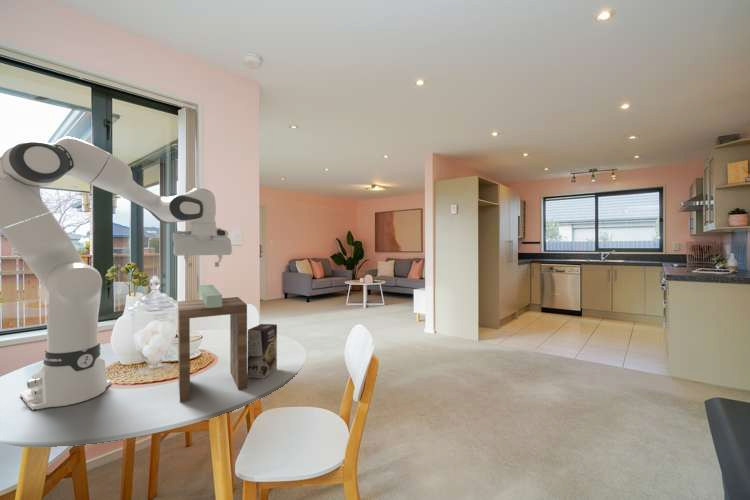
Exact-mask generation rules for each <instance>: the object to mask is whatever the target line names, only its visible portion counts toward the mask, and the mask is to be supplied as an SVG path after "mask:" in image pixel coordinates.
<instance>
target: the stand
mask: <svg viewBox="0 0 750 500" xmlns="http://www.w3.org/2000/svg"><path fill="white" fill-rule="evenodd" d="M177 315H178V316H177V323H178V324H177V325H178V326H177V329H178V333H177V335H178V336H177V337H178V338H177V340H178V342H177V343H178V348H177V349H178V350H177V352H178V354H177V356H178V358H177V359H178V361H177V362H178V363H177V364H178V391H179V392H178V393H179V403H183V402H188V401H191V364H190V363H191V357H190V356H191V352H190V351H191V350H190V347H191V346H190V345H191V344H190V342H191V339H190V337H191V336H190V335H191V334H190V333H191V331H190V330H191V329H190V322H191V321H190V319H195V318H196V319H199V318H205V317H216V316H218V317H219V316H225V315H226V316H230V317H229V321H230V322H229V325H230V327H229V331H230V332H229V333H230V334H229V335H230V337H229V338H230V339H229V340H230V341H229V342H230V344H229V345H230V347H229V348H230V351H229V353H230V354H229V355H230V375H231V377H232V379H233V381H234V384H235V386H236V388H237V391H241V390H246V389H248V377H247V371H248V304H247V303H245V301H244V300H242V299H241V298H240V297H238V296H235V297H234V296H233V297H222V307H214V308H207V307H206V305H205V303H204V301H203V300H202V299H193V300H191V299H190V300H182V301H181V300H180V301H179V300H178V301H177Z"/></svg>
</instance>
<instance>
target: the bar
mask: <svg viewBox="0 0 750 500" xmlns="http://www.w3.org/2000/svg"><path fill="white" fill-rule="evenodd" d="M199 287H200V288H199V296H200V298H201V300H203V301H204V303H205V305H206V307H207V308H214V307H222V298H223V294H222V293H221V292H220V291H219V289H217V288H216V286H214V285H213V284H208V285H207V284H206V285H205V284H204V285H203V284H202V285H200V286H199Z"/></svg>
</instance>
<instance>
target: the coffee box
mask: <svg viewBox="0 0 750 500" xmlns="http://www.w3.org/2000/svg"><path fill="white" fill-rule="evenodd" d="M277 338H278V324H275V323H274V324H273V323H271V324H270V323H260V324H258V325H256V326H253V327H251V328H249V329H247V378H251V379H253V378H254V379H255V378H256V379H260V380H261V379H266V378H267V377H268V376H269V375H271V374H272V373H273V372H274V371H276V370H277V369H278V358H277V357H278V353H277V352H278V349H277V348H278V343H277V342H278V339H277Z"/></svg>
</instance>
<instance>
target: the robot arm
mask: <svg viewBox="0 0 750 500" xmlns="http://www.w3.org/2000/svg"><path fill="white" fill-rule="evenodd" d="M65 175H66V176H71V177H74V178H77V179H79V180H81V181H84V182H85V183H88V184H89V185H91V186H94V187H96V188H98V189H101V190H104V191H106V192H109V193H112V194H115V195H117V196H120V197H122V198H124V199H125V200H127V201H130V202H132V203H134V204H136V205H138V206H139V207H141V208H143V209H145V210H146V211H148V212H149V213H150V214H151V215H152V216H153V217H154V218H155V219H156V220H157V221H159V222H160V223H163V224H173V223H181V222H188V221H189V222H190V230H187V231H186V230H184V231H183V230H177V231H175V232H174V233H173V234H172V236H171V240H172V242H173V243H174V244H173V250H172V253H173V255H174V256H177V257H178V256H179V257H180V256H182V257H184V260H185V262H186V264H187V268H188V269H189V268H190V269H191V268H193V263H192V262H190V261H189V257H190V256H217V261H215V262H214V268H216V267H217V268H218V267H220V262H221V261H222V259H223V256H230V255H231V254H232V253H233V246H232V241H231V238H230V237H228V236H229V231H228V230H225V229H222V228H221V227H220V228H219V227H217V221H216V214H217V203H216V197H215V195H214V193H213V192H212V191H211V190H209V189H206V188H201V187H195V188H192V189H191V190H190V191H187V192H185V193H180V194H177V195H172V196H163V195H158V194H156V193H154V192H152V191H150V190H149V189H147V188H145V187H144V186H141V185H140V184H138V183H137V182H136V181H135V180H134V178H133V171H132V169H131V167H130V166H129V165H128V164H127V163H126V162H124V161H123V160H121V159H120V158H119V157H117V156H115V155H114V154H112V153H110V152H108V151H106V150H104V149H102V148H100V147H98V146H96V145H94V144H91V143H89V142H87V141H85V140H82V139H78V138H76V137H71V136H65V137H62V138H60V139H58V140H57V141H55V142H54V143H50V142H43V141H36V140H35V141H33V140H32V141H30V140H29V141H25V142H24V141H23V142H20V143H18V144H16V145H15V146H13V147H9V148H8V149H7V150H6V151H5V152H4V153H3V154H2V156H0V233H1V235H3V236H4V238H5V239H6V240H7V242H9V244H10V245H11V246H12V248H13V249H14V250H15V251H16V253H18V255H19V256H20V257H21V258H22V260H23V261H24V263H25V264H26V265H27V266H28V268H29V269H30V271H31V272H32V273H33V274H34V275H35V277H36V278H37V280H39V282H40V283H41V284H42V286H43V287H44V288H45V290H46V292H48V293H49V294H48V295H49V296H48V300H49V301H48V311H47V313H48V315H47V322H46V335H47V336H46V340H47V342H46V343H47V344H46V346H47V349H46V350H45V351H44V352H45V354H44V356H43V363H42V365H41V366H40V367H39V369H37V371H35V372H34V373H33V374H32V376H31V379H28V380H27V381H26V387H27V389H26V390H23V391H21V392H20V395H19V397H20V396H21V397H22V398H23V399H22V398H21V397H20V398H21V399H22V401H23V402H24V401H25V402H26V403H27V404H26V403H25V402H24V403H25V404H26V406H28V408H29V407H30V408H31V409H32V411H35V410H34V409H36V410H41V409H45V408H46V409H47V408H54V407H55V408H56V407H63V406H71V405H74V404H79V403H82V402H84V401H88V400H91V399H94V398H95V397H98V396H99V395H101V394H103V393H104V392H105V391H106V389H107V387H109V386H110V385H111V384H112V380H111V379H108V378H107V369H106V362H105V361H106V360H105V359H104V358H102V357H100V356H101V343H99V311H100V306H101V299H102V298H101V297H102V286H103V278H102V275H101V273H100V272H99V271H98V269H97V268H95V267H93V266H92V265H90V264H87V263H86V262H85V261H84V260H83V257H82V256H81V255H80V253H79V251H78V250H77V248H76V246H75V245H74V243H73V241H72V240H71V237H70V236H69V234H68V233H67V232H66V230H65V228H64V227H62V225H61V224H60V223H59V221H58V219H57V218H56V217H55V216H54V214H53V213H52V212H51V210H50V209H49V207H48V205H46V203H44V201H43V199H42V196H41V188H43V187H46V186H47V187H48V186H49V185H52V184H53V183H54V182H56V181H58V180H59V179H61V178H62V177H63V176H65ZM30 408H29V409H30ZM31 409H30V410H31Z"/></svg>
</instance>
